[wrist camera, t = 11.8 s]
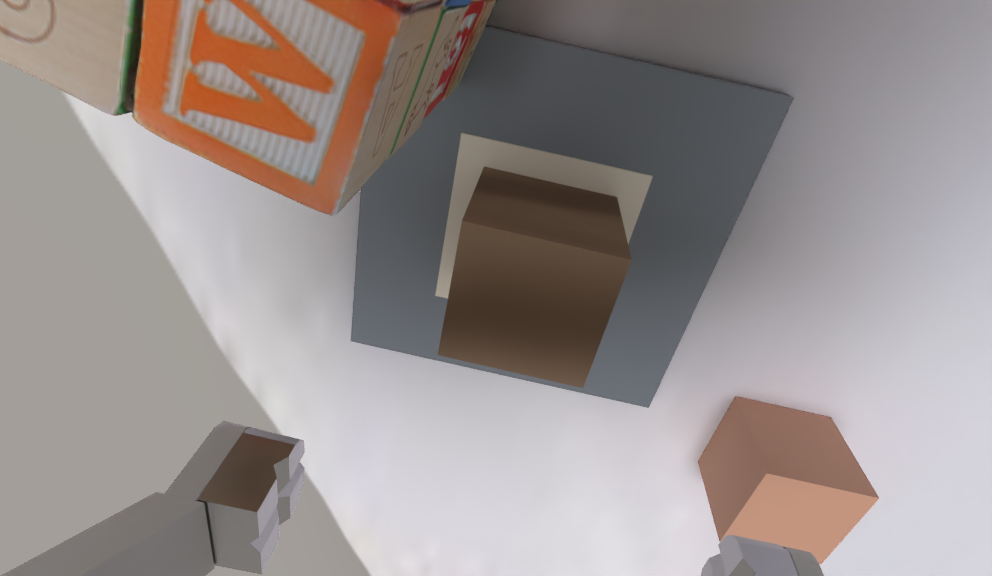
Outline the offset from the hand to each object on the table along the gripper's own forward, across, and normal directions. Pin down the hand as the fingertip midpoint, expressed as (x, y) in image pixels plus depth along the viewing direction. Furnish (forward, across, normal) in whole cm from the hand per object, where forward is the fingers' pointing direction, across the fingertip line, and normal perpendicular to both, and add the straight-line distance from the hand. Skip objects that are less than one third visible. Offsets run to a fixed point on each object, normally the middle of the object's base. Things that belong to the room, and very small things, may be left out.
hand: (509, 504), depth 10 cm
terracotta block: (+13, -13, +9) cm, 20 cm away
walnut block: (+12, 0, +1) cm, 12 cm away
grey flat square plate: (+13, 0, +1) cm, 13 cm away
